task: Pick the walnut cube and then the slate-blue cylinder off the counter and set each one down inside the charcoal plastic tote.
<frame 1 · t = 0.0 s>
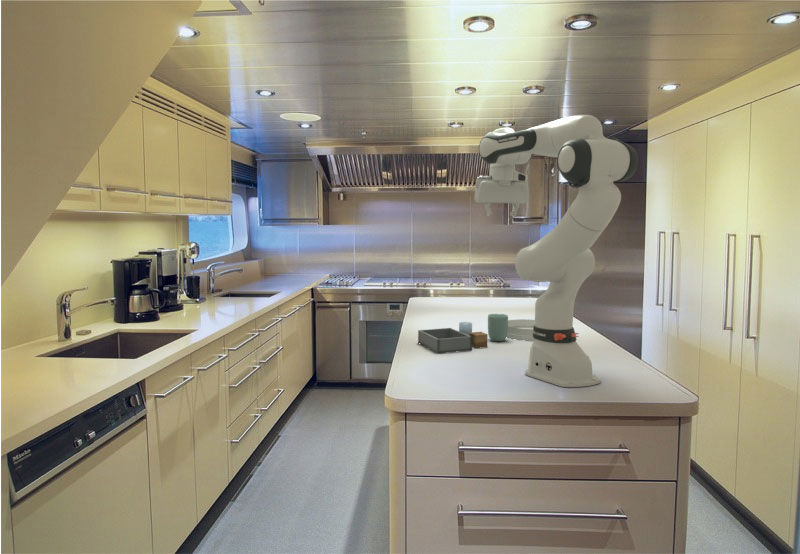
hand: (501, 216, 185), 48 cm above the countertop, tool pointing down, fingers open, 8 cm apart
blue cylinder: (465, 340, 205), on the countertop
walnut cube: (478, 346, 196), on the countertop
cup: (497, 341, 205), on the countertop
tote: (444, 346, 195), on the countertop
dish: (528, 336, 215), on the countertop
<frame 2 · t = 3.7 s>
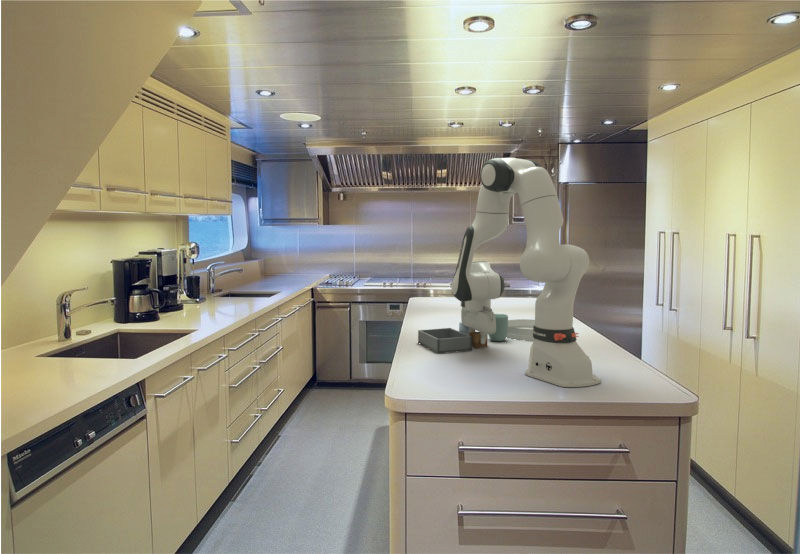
hand: (478, 341, 195), 2 cm above the countertop, tool pointing down, fingers closed on walnut cube, 5 cm apart
walnut cube: (478, 346, 196), on the countertop, touching gripper
everything else where it was.
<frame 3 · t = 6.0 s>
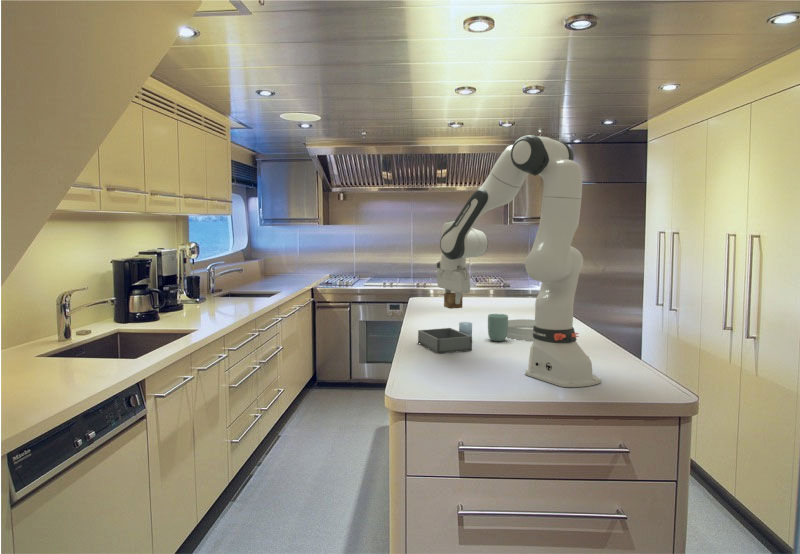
hand: (453, 302, 193), 17 cm above the countertop, tool pointing down, fingers closed on walnut cube, 5 cm apart
walnut cube: (453, 307, 193), point 15 cm above the countertop, touching gripper
everything else where it was.
when the fingers open (4 cm above the countertop, at t = 8.3 s): walnut cube drops 1 cm, resting on tote.
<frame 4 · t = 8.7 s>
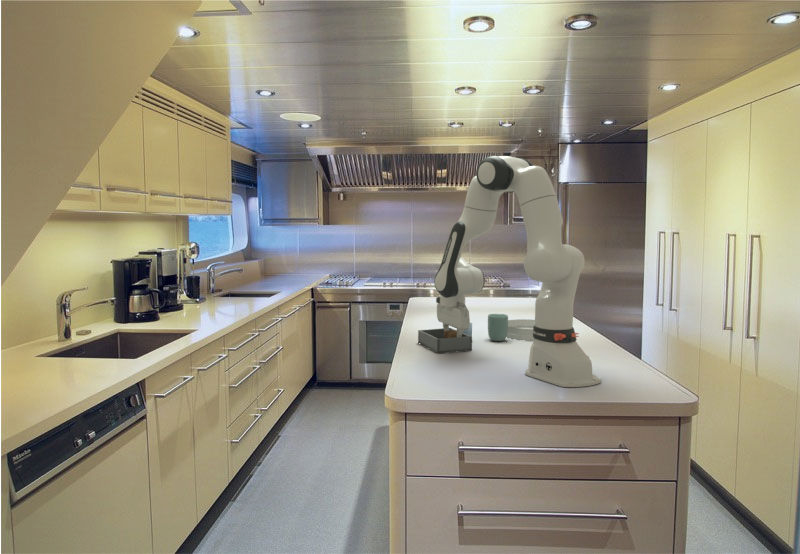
hand: (452, 337, 194), 4 cm above the countertop, tool pointing down, fingers open, 8 cm apart
walnut cube: (452, 345, 194), point 1 cm above the countertop, touching tote
everything else where it was.
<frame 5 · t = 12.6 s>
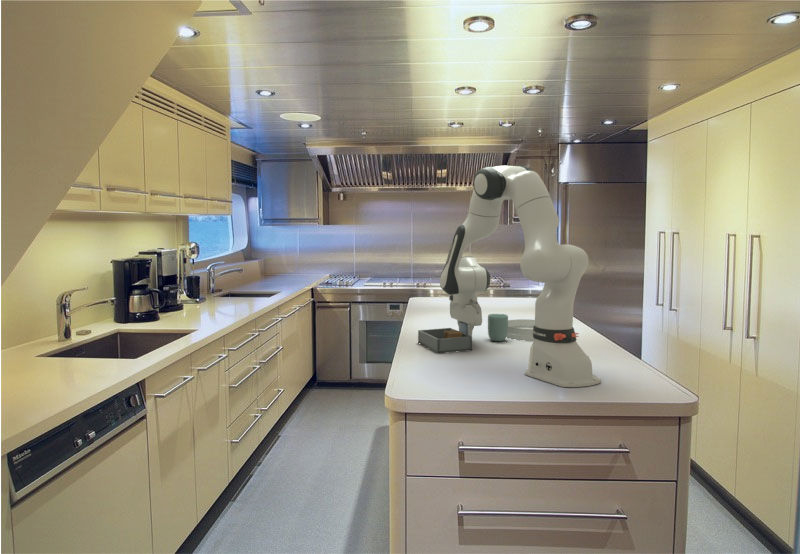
hand: (465, 333, 205), 3 cm above the countertop, tool pointing down, fingers closed on blue cylinder, 5 cm apart
blue cylinder: (465, 340, 205), on the countertop, touching gripper
everything else where it was.
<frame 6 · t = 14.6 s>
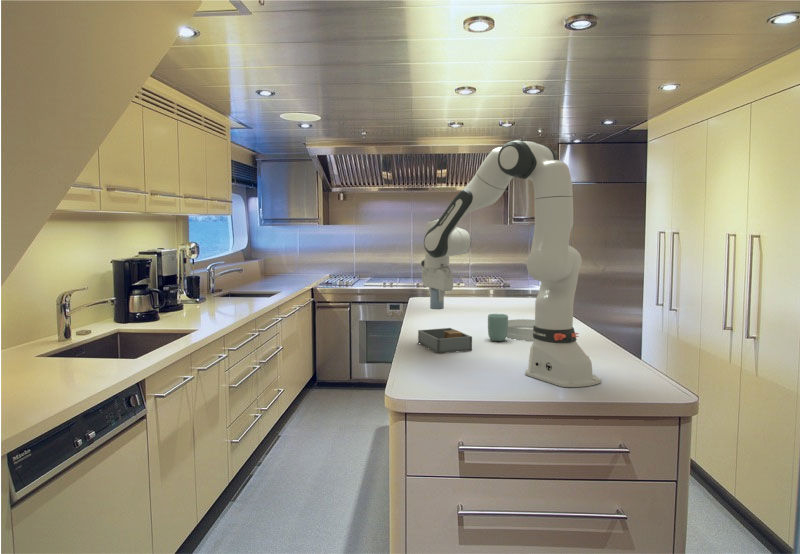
hand: (436, 300, 195), 17 cm above the countertop, tool pointing down, fingers closed on blue cylinder, 5 cm apart
blue cylinder: (436, 308, 195), point 14 cm above the countertop, touching gripper
everything else where it was.
when the fingers open (5 cm above the countertop, at t = 16.9 s): blue cylinder drops 1 cm, resting on tote.
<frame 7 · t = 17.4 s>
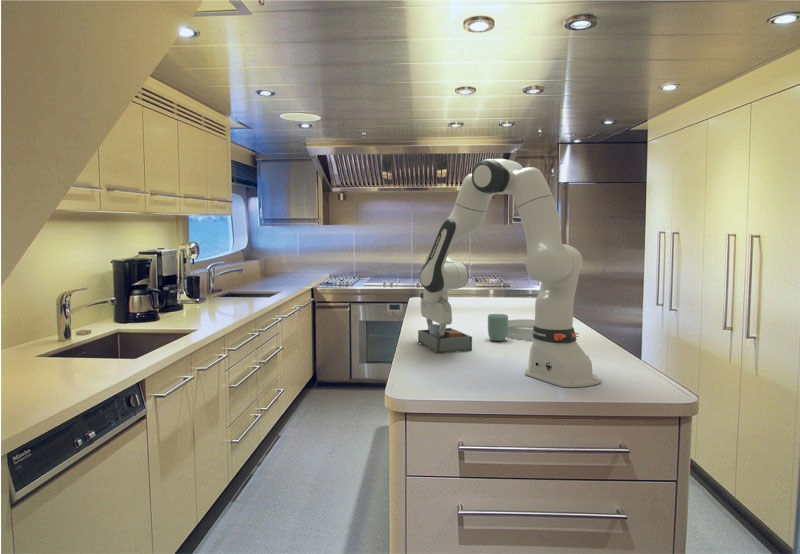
hand: (436, 332, 196), 5 cm above the countertop, tool pointing down, fingers open, 8 cm apart
blue cylinder: (436, 343, 196), point 1 cm above the countertop, touching tote
everything else where it was.
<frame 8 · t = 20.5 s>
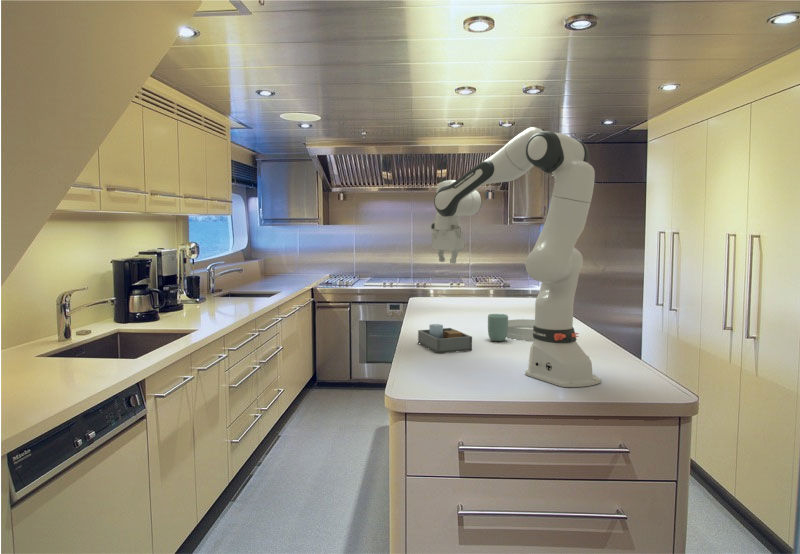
hand: (447, 262, 195), 31 cm above the countertop, tool pointing down, fingers open, 8 cm apart
nothing on the countertop moved.
at the end: walnut cube inside the target area on the tote (3.3 cm from its centre), point 0.8 cm above the tote's base; blue cylinder inside the target area on the tote (3.1 cm from its centre), point 0.8 cm above the tote's base; the gripper is holding nothing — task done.
